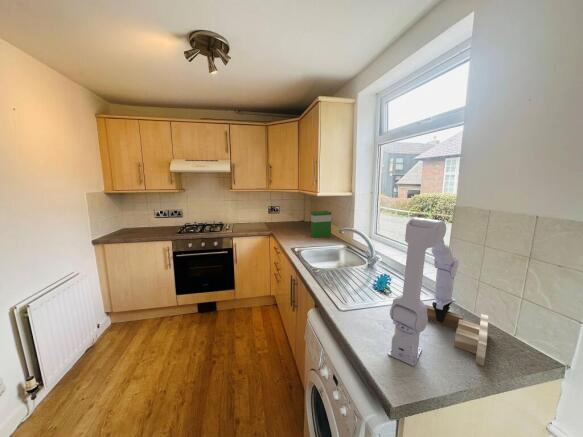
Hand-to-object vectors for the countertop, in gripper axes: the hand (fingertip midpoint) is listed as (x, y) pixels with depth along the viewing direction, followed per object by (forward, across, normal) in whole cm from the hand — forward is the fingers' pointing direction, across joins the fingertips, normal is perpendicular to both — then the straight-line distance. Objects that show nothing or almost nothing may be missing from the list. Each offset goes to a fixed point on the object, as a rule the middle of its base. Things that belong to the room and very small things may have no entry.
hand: (440, 318), depth 96 cm
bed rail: (+2, 0, 0) cm, 2 cm away
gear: (+2, +14, +28) cm, 31 cm away
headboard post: (+1, -8, -10) cm, 13 cm away
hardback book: (+2, +91, +114) cm, 146 cm away
